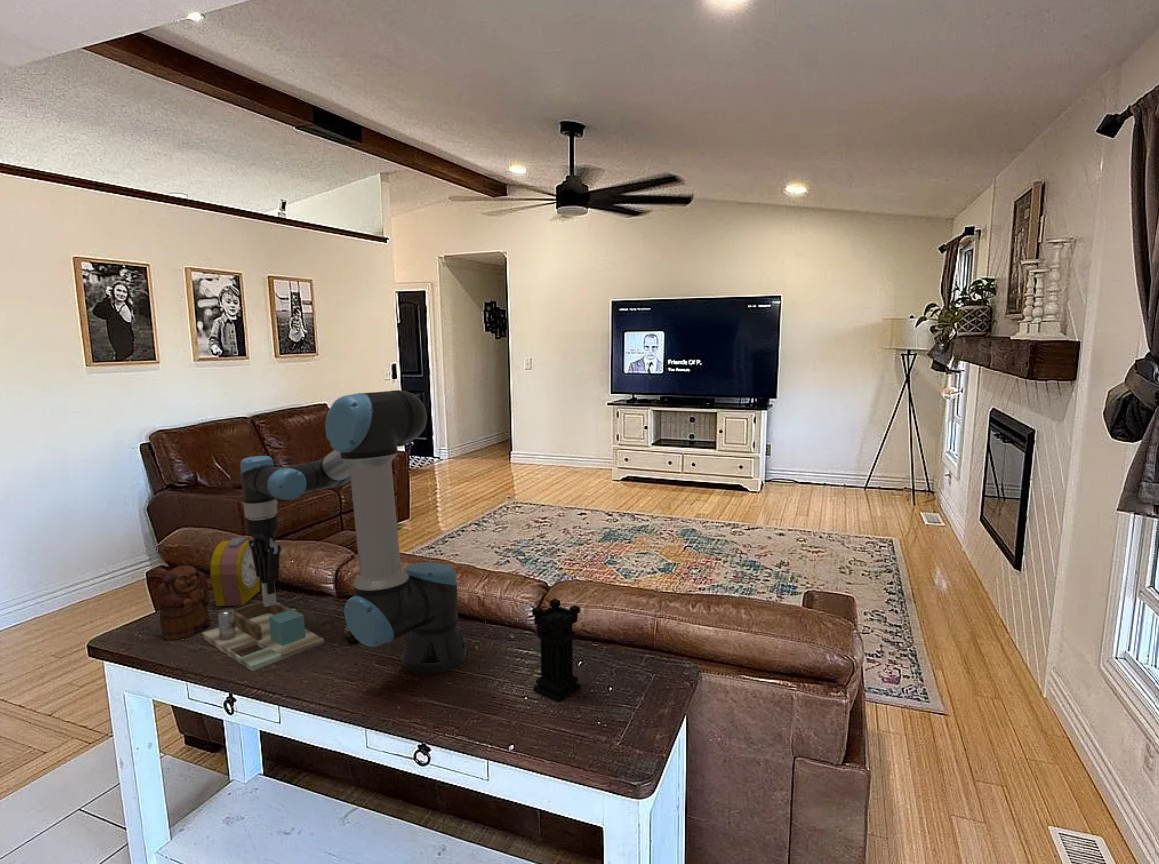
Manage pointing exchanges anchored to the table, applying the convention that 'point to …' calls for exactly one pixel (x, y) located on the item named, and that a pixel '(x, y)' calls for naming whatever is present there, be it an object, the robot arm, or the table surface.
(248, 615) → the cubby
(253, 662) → the board
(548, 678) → the chess piece
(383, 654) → the table surface
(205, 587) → the wooden figurine
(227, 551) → the alarm clock
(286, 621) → the block
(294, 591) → the table surface
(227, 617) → the grey knob
